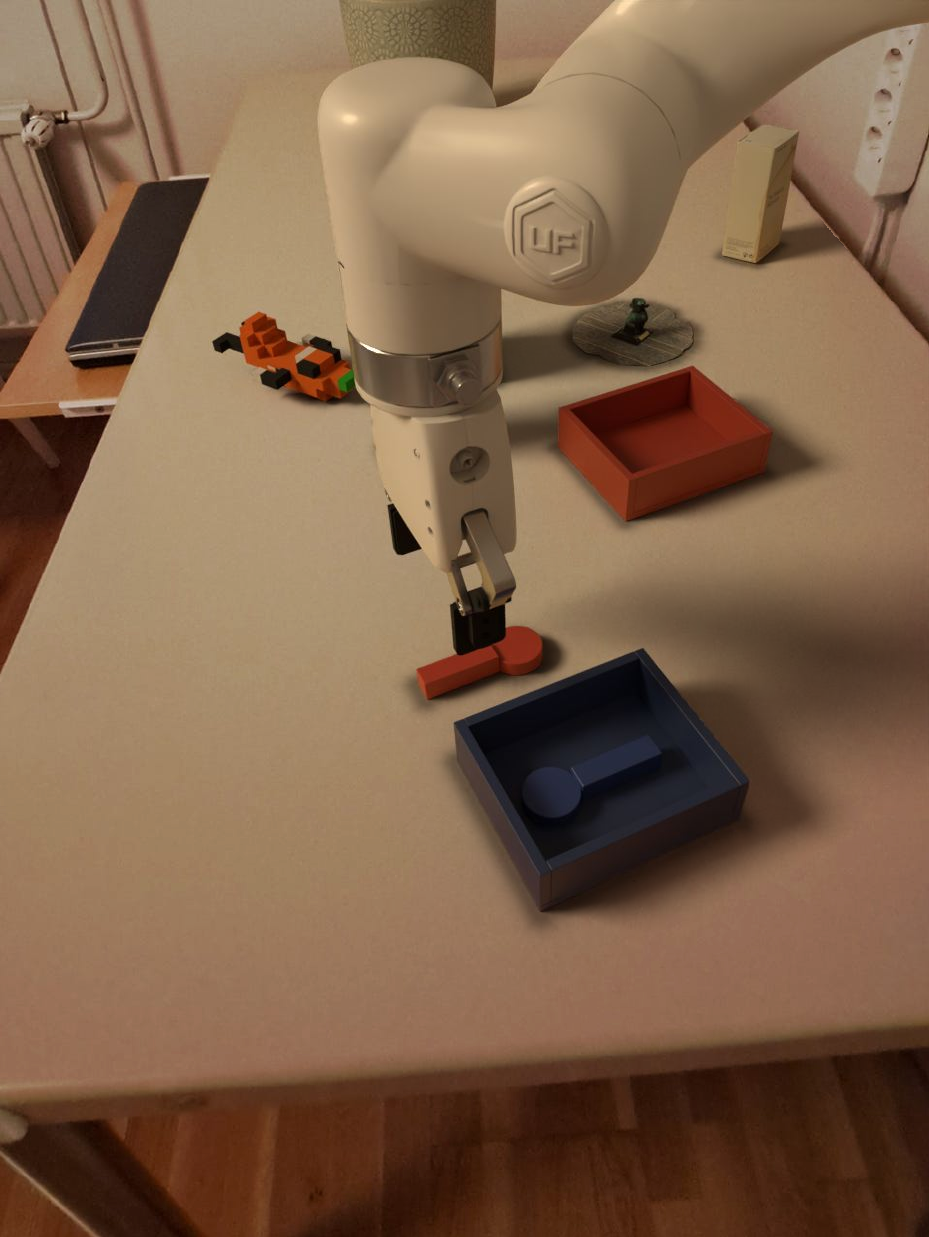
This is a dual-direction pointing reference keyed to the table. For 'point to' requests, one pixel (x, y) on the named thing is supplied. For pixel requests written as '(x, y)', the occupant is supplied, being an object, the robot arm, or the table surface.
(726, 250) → the cosmetic box
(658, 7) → the robot arm
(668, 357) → the sculpture
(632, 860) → the navy bin
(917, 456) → the table surface
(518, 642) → the brick-red spoon
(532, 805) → the navy spoon
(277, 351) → the toy
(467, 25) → the planter
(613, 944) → the table surface
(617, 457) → the brick-red bin
